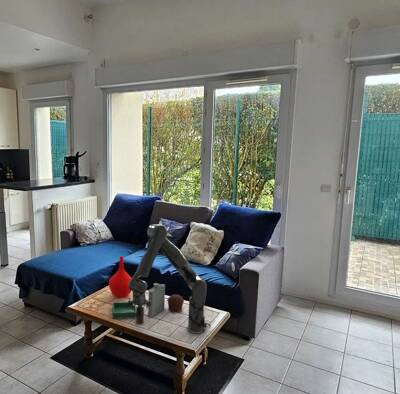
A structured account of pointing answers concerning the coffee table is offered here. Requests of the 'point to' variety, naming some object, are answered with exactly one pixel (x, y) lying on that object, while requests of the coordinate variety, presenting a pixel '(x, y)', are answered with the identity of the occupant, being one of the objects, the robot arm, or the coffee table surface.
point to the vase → (120, 282)
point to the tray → (123, 310)
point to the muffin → (175, 303)
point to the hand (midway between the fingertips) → (140, 306)
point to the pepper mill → (140, 314)
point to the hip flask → (156, 299)
